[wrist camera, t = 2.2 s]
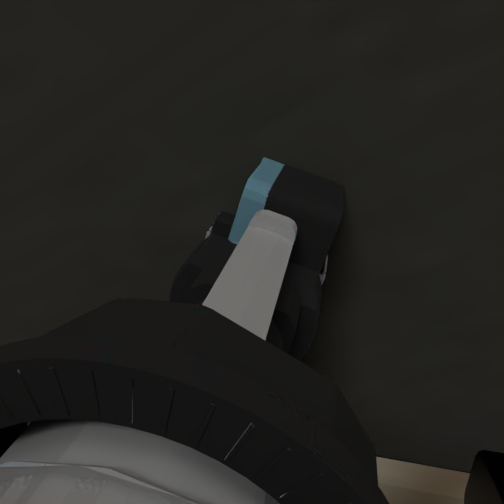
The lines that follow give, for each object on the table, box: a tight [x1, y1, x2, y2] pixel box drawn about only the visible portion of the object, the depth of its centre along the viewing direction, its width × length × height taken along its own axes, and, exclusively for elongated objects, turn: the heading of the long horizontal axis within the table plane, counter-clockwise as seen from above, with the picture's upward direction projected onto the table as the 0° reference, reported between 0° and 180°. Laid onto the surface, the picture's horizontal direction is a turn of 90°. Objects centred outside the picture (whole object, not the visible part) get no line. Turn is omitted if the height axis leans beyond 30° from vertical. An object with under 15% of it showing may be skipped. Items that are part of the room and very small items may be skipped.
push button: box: [0, 157, 389, 504], centre depth 8 cm, size 7×5×10 cm
